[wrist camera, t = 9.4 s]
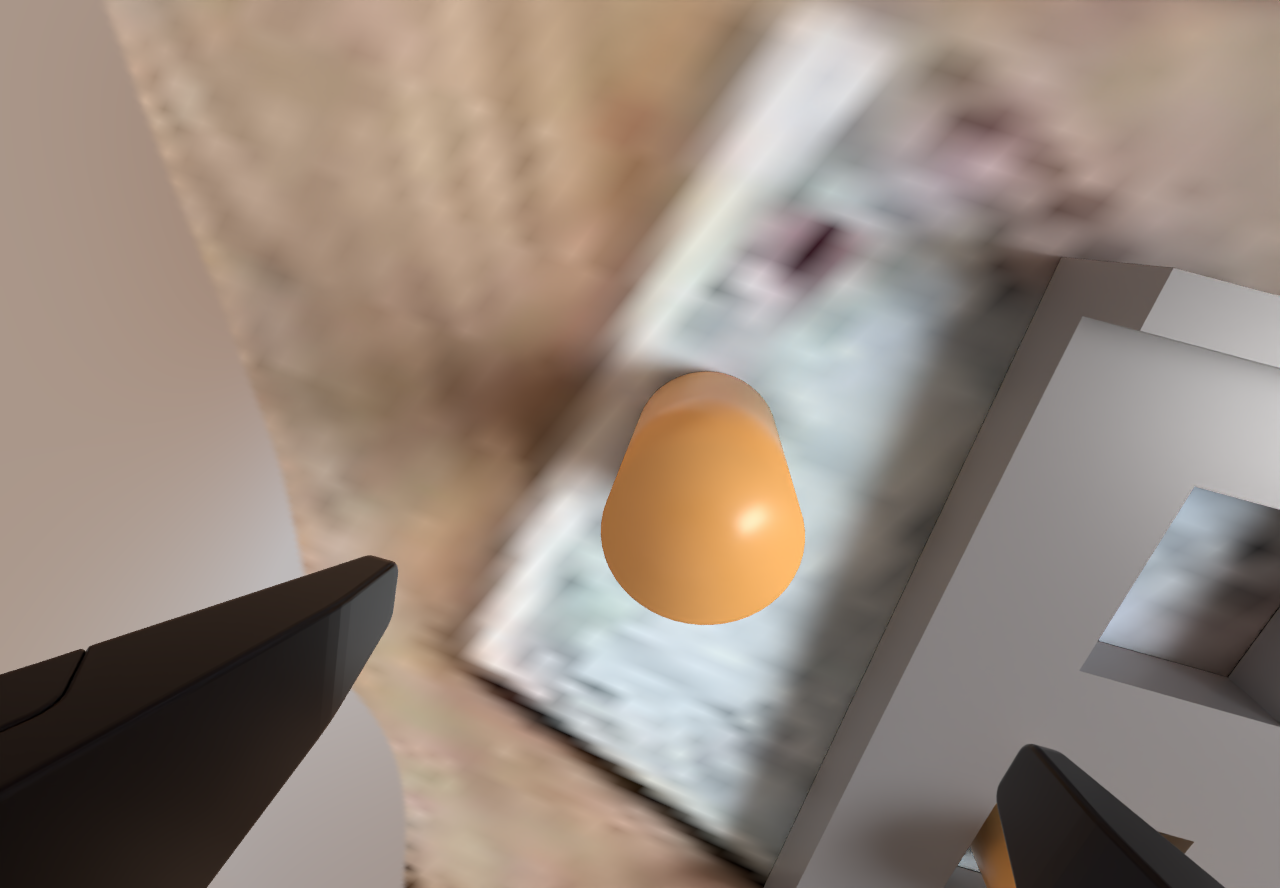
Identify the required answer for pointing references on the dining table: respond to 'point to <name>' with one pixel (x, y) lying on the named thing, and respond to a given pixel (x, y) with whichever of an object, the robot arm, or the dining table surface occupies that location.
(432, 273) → the dining table surface
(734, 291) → the dining table surface
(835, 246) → the dining table surface
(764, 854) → the dining table surface
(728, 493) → the orange rounded plug
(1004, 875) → the orange tapered peg
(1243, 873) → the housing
